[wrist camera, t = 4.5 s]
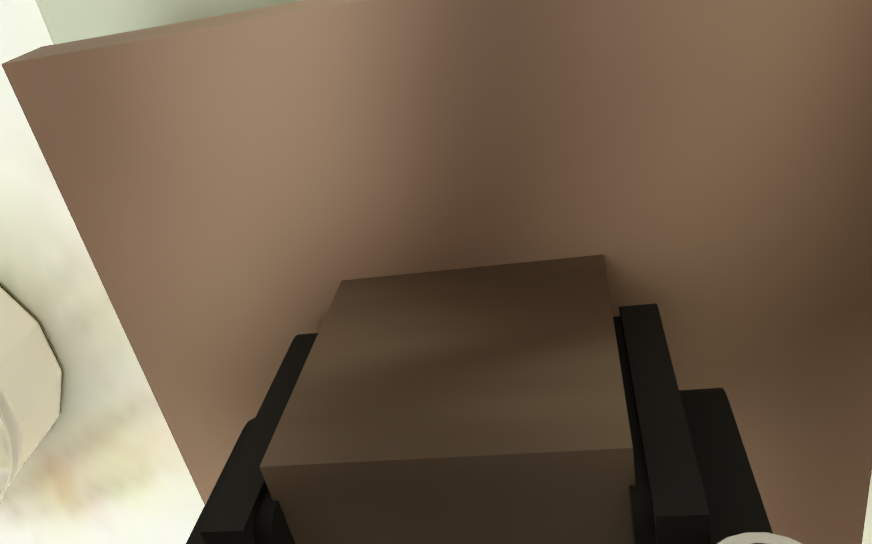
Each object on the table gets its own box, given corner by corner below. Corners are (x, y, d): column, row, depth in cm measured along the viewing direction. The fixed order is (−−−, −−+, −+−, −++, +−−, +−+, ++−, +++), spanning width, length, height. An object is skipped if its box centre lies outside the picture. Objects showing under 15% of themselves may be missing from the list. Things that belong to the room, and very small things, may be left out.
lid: (910, -107, 9) (1241, -52, 5) (835, 560, 15) (954, 857, 11) (41, 46, 11) (-259, 176, 7) (268, 573, 17) (178, 820, 13)
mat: (802, -155, 13) (815, -156, 12) (775, 469, 19) (782, 487, 18) (50, -9, 15) (34, -4, 14) (256, 504, 21) (249, 521, 21)
